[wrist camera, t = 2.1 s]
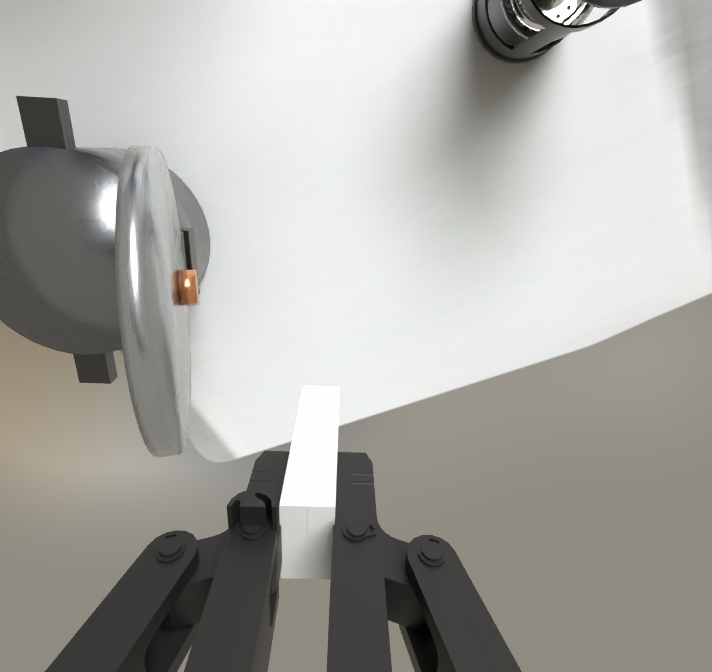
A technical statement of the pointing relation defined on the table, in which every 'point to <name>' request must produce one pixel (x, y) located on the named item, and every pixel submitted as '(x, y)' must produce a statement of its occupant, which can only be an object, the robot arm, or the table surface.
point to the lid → (154, 300)
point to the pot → (70, 239)
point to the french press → (537, 24)
